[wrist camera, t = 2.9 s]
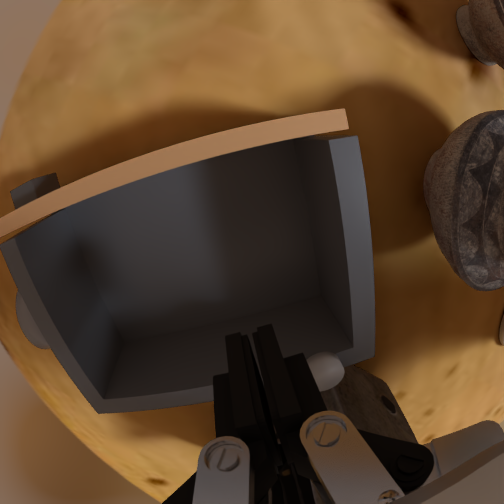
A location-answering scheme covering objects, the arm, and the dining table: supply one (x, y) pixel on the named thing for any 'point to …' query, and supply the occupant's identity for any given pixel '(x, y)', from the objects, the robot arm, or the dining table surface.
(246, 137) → the door
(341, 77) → the dining table surface
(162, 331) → the grey open drawer box
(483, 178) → the pottery
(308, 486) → the vintage camera
